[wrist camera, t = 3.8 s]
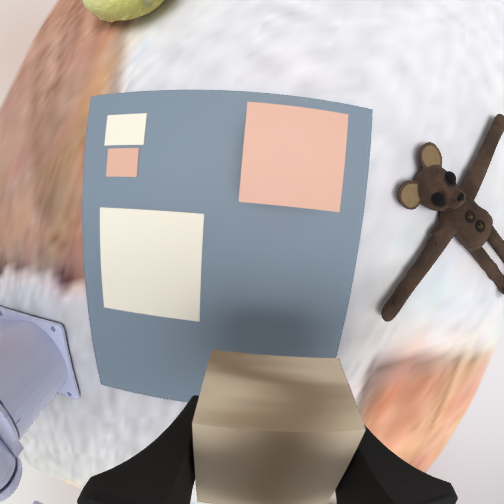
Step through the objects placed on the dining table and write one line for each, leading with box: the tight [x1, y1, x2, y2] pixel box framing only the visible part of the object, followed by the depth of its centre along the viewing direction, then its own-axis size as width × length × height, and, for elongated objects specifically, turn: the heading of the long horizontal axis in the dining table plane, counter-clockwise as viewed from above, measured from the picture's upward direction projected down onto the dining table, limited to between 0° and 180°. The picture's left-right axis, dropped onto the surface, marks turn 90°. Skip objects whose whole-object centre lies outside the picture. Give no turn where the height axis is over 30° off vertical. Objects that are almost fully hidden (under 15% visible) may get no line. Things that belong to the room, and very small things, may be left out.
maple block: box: [192, 350, 366, 504], centre depth 11 cm, size 6×6×4 cm
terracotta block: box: [239, 102, 348, 212], centre depth 15 cm, size 4×4×4 cm
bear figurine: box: [381, 114, 504, 322], centre depth 17 cm, size 18×4×14 cm
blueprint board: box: [82, 90, 373, 402], centre depth 19 cm, size 18×22×1 cm
